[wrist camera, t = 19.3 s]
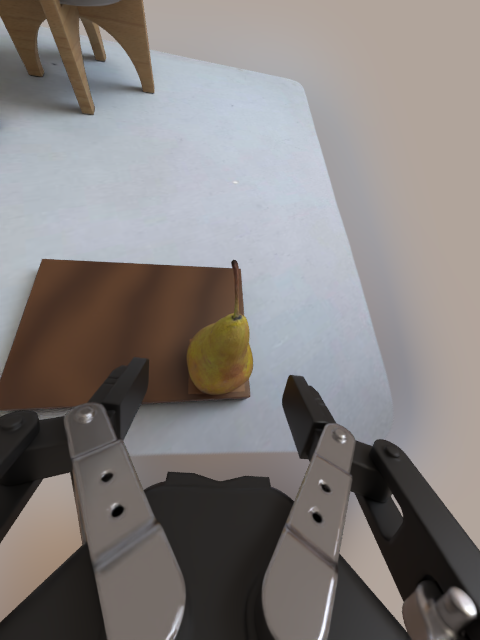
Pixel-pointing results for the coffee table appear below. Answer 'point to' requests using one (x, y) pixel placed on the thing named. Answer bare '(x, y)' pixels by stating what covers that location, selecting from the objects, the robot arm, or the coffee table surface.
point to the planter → (63, 18)
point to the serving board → (113, 331)
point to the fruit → (221, 351)
